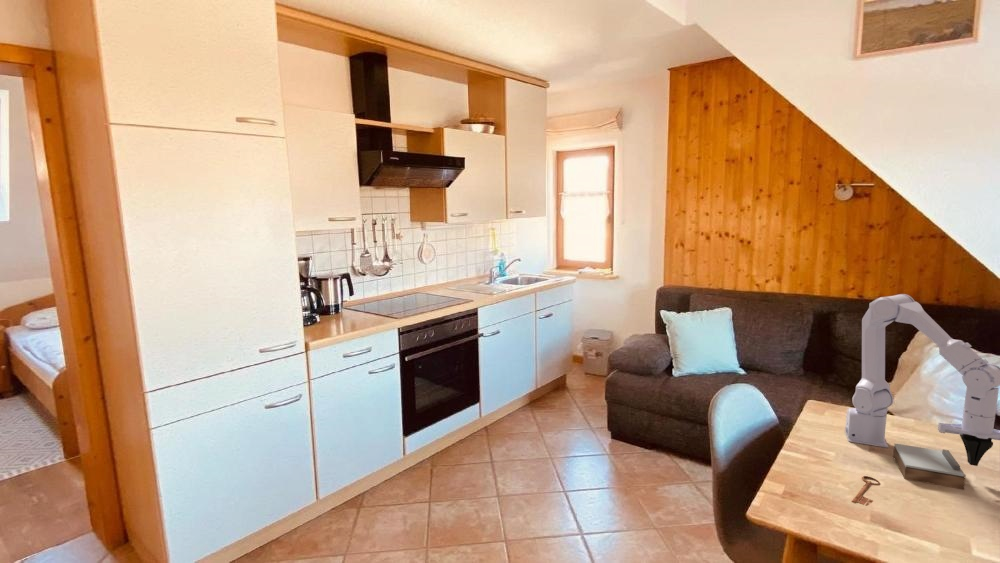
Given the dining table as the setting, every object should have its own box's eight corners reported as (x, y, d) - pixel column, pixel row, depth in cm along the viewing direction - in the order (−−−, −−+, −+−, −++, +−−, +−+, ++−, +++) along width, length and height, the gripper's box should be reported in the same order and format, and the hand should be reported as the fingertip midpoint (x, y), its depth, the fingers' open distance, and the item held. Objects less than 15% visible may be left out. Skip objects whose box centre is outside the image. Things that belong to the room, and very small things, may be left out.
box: (904, 478, 129) (905, 467, 129) (893, 456, 140) (894, 446, 140) (963, 489, 124) (964, 478, 123) (947, 465, 135) (948, 454, 134)
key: (872, 512, 117) (890, 487, 127) (873, 509, 117) (891, 484, 126) (843, 499, 121) (863, 476, 131) (844, 496, 121) (864, 473, 131)
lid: (905, 466, 129) (906, 460, 128) (894, 445, 140) (894, 439, 139) (965, 476, 123) (965, 470, 123) (948, 453, 134) (949, 447, 134)
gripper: (946, 413, 125) (940, 464, 127) (1026, 424, 118) (1018, 477, 121) (937, 403, 131) (932, 452, 133) (1013, 412, 125) (1005, 464, 127)
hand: (972, 463), depth 127 cm, fingers closed
